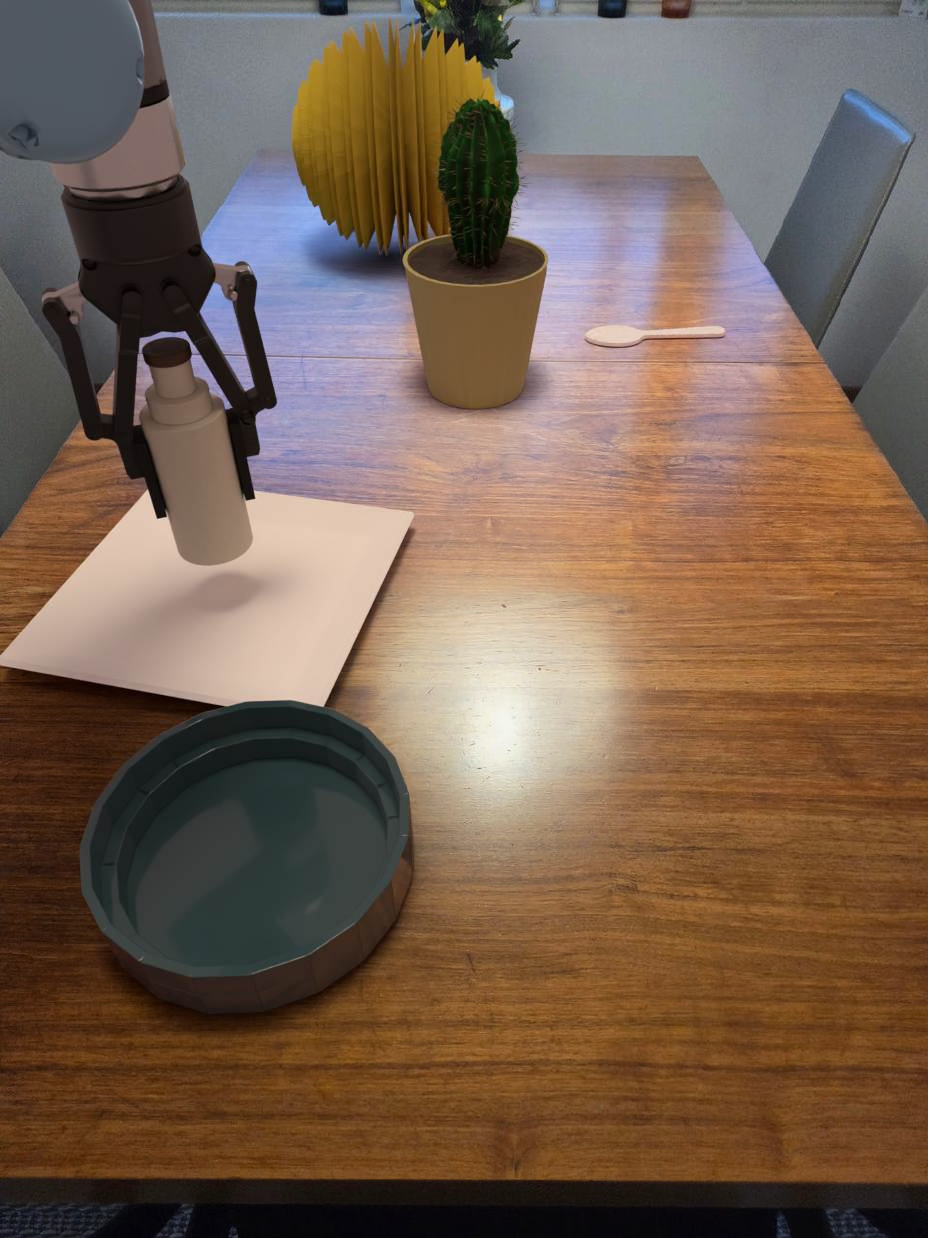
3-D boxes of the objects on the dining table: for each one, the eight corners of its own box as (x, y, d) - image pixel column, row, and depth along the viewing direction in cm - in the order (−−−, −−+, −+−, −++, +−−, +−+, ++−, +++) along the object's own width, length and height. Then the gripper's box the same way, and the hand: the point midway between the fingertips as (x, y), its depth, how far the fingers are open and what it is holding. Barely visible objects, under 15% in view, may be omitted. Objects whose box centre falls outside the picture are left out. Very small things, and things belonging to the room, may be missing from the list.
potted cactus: (397, 364, 106) (379, 80, 86) (517, 348, 109) (527, 70, 89) (426, 427, 95) (414, 118, 75) (559, 407, 98) (582, 105, 78)
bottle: (182, 573, 68) (123, 373, 57) (173, 529, 72) (117, 335, 61) (258, 556, 70) (216, 358, 58) (246, 514, 74) (204, 322, 62)
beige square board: (319, 739, 63) (315, 720, 62) (1, 680, 68) (-9, 661, 66) (416, 528, 82) (415, 509, 81) (162, 493, 87) (157, 475, 85)
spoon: (730, 341, 110) (731, 337, 110) (589, 347, 109) (589, 343, 109) (718, 323, 114) (718, 319, 114) (581, 329, 113) (581, 325, 113)
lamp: (510, 287, 124) (517, 33, 103) (297, 293, 123) (261, 38, 103) (496, 216, 146) (499, -4, 125) (315, 221, 145) (289, -1, 125)
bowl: (114, 1069, 47) (86, 1030, 43) (97, 792, 60) (74, 745, 57) (454, 951, 51) (453, 907, 48) (368, 718, 65) (362, 671, 61)
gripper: (269, 146, 57) (313, 452, 73) (-45, 180, 53) (75, 498, 68) (292, 179, 52) (335, 500, 68) (-53, 219, 48) (78, 554, 63)
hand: (204, 498), depth 68 cm, fingers closed on bottle, 6 cm apart
